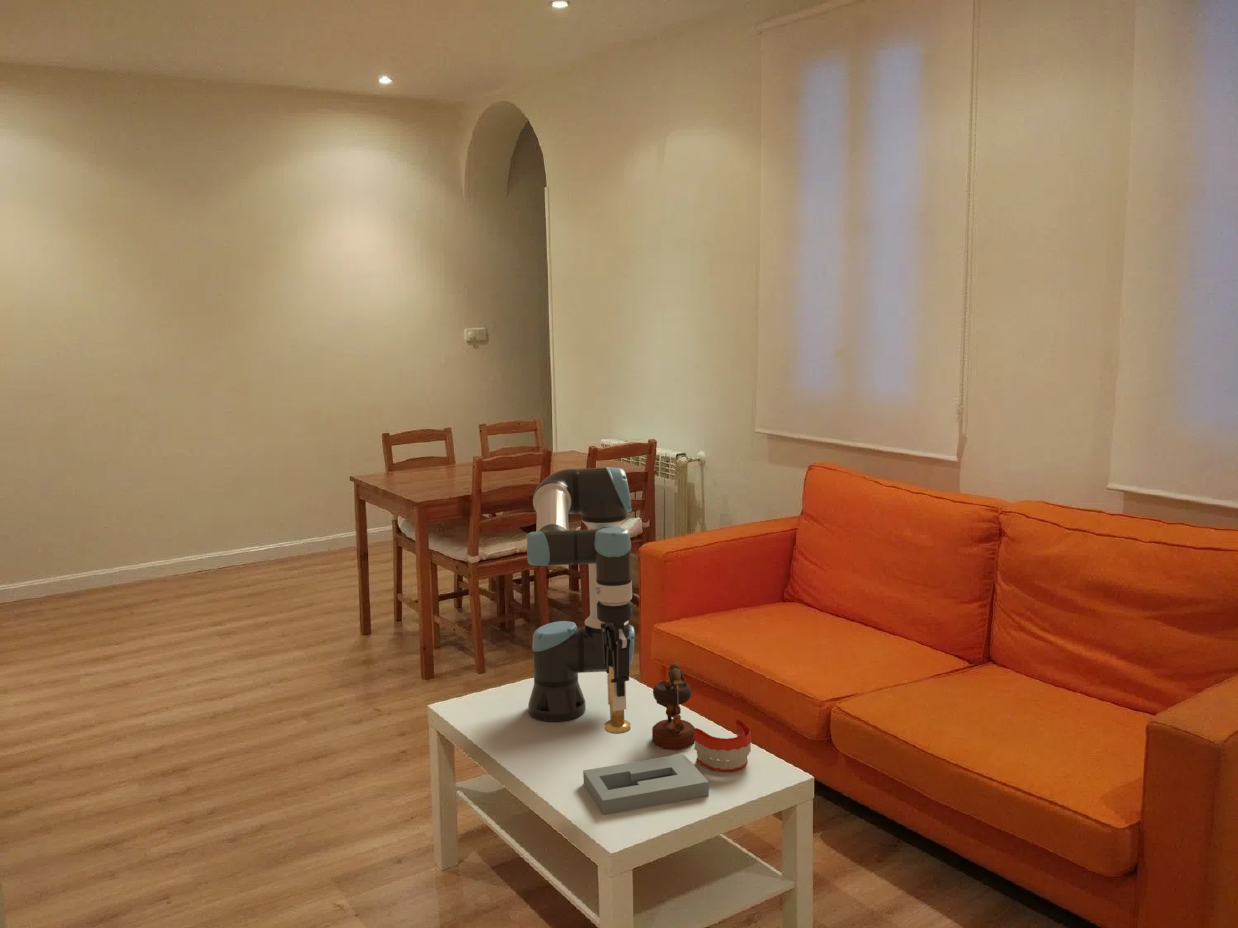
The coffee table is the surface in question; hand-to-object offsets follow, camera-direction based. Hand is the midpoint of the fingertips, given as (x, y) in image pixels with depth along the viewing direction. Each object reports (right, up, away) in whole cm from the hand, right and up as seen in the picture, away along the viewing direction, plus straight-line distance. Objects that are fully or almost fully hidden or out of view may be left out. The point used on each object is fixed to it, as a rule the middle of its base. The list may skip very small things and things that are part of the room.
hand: (617, 706), depth 218 cm
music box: (+14, -16, +31) cm, 37 cm away
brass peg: (0, -5, +1) cm, 5 cm away
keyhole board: (+6, -20, +5) cm, 21 cm away
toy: (+26, -18, +16) cm, 35 cm away
